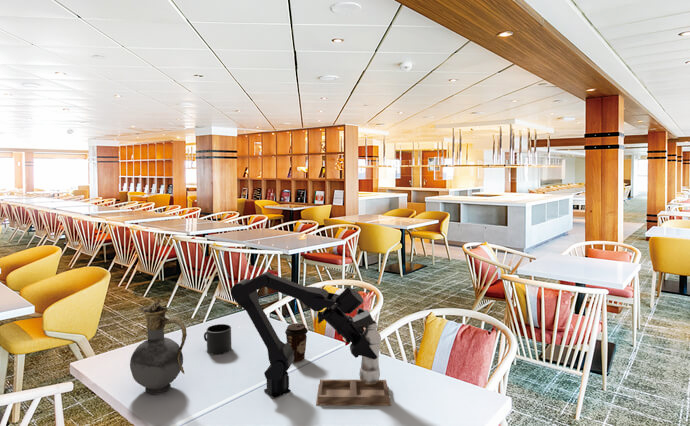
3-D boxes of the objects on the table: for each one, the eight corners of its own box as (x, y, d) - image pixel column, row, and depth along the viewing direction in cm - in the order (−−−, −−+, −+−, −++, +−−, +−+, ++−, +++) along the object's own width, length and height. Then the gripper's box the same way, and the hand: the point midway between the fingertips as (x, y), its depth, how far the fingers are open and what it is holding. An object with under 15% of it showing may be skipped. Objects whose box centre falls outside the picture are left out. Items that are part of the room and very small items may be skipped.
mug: (211, 343, 179) (210, 322, 178) (236, 347, 175) (235, 325, 174) (196, 351, 170) (196, 330, 169) (222, 356, 166) (221, 333, 165)
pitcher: (149, 378, 148) (146, 293, 145) (197, 385, 143) (194, 298, 140) (125, 394, 138) (121, 303, 135) (176, 402, 133) (173, 308, 130)
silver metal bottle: (355, 379, 139) (356, 320, 137) (373, 375, 142) (375, 317, 139) (365, 388, 133) (366, 327, 131) (383, 384, 136) (385, 323, 134)
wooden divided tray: (316, 405, 131) (315, 397, 131) (318, 385, 143) (318, 378, 143) (390, 405, 131) (390, 397, 131) (387, 386, 143) (387, 379, 143)
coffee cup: (310, 355, 167) (309, 322, 166) (306, 364, 159) (305, 330, 158) (288, 354, 168) (287, 322, 167) (283, 363, 160) (282, 329, 159)
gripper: (363, 313, 125) (399, 347, 127) (353, 295, 143) (385, 325, 146) (336, 340, 125) (373, 374, 127) (330, 318, 143) (362, 349, 146)
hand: (374, 354), depth 136 cm, fingers closed on silver metal bottle, 6 cm apart
